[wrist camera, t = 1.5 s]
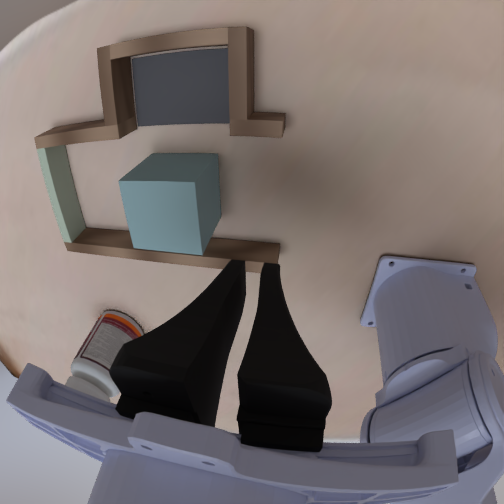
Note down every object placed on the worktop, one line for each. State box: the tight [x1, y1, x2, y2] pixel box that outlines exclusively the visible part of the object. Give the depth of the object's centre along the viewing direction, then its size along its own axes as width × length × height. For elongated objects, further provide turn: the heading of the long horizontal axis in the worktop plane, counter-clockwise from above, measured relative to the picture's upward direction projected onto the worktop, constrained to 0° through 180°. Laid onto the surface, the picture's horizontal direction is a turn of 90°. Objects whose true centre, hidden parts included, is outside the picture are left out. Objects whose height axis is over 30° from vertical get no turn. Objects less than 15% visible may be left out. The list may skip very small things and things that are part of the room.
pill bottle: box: [65, 311, 143, 402], centre depth 30 cm, size 6×6×11 cm
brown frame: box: [35, 27, 285, 273], centre depth 20 cm, size 19×16×2 cm
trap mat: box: [132, 48, 230, 126], centre depth 18 cm, size 7×5×1 cm
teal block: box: [119, 153, 221, 255], centre depth 21 cm, size 5×5×5 cm
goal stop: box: [37, 145, 86, 243], centre depth 23 cm, size 1×9×2 cm, turn 0°
